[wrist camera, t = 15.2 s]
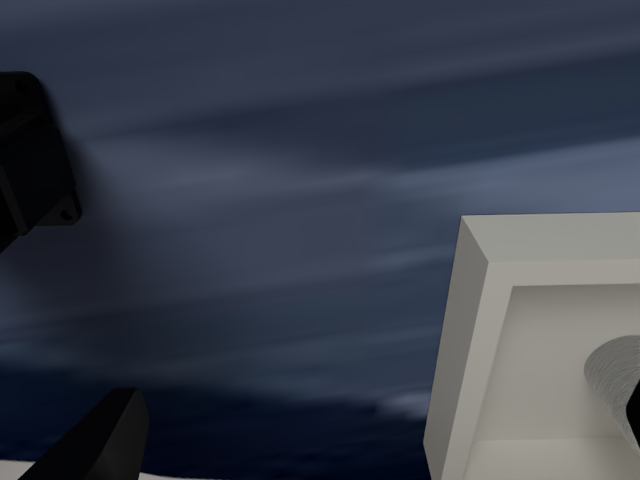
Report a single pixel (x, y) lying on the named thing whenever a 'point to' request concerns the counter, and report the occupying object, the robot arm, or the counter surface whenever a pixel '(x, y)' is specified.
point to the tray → (533, 348)
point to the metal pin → (616, 378)
